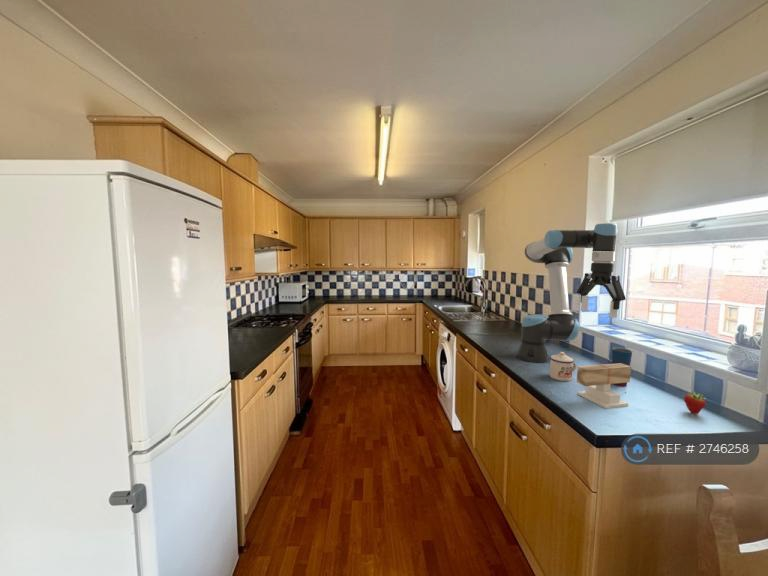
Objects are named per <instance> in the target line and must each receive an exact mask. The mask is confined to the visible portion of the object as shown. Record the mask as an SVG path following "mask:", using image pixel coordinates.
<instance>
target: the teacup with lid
mask: <svg viewBox="0 0 768 576" xmlns="http://www.w3.org/2000/svg"><path fill="white" fill-rule="evenodd" d="M549 365H550V366H549V376H550V378H551V379H554V380H555V381H560V382H570V381H572V379H573V372H575V370H576V369H577V363H576V362H575V361H574V359H573V358H572V357H570V356H568V355H566V353H565V352H563V351H560V352H559V353H558V354H552V355H550V364H549Z"/></svg>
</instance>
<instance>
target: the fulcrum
mask: <svg viewBox="0 0 768 576" xmlns="http://www.w3.org/2000/svg"><path fill="white" fill-rule="evenodd" d="M611 385H612V384H605V385H594V386H585V387H586V388H585V389H586V390H583V391H582V390H581V391H577V395H579V396H581V397H582V398H584V399H586V400H588V401H590V402H592V403H594V404H596V405H598V406H600V407H602V408H603V409H612V408H613V409H614V408H623V407H628V406H629V402H627V401H624V400H622V399H621V395H620V394H619V393H617V392H615V391H613V390H611Z"/></svg>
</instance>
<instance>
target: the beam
mask: <svg viewBox="0 0 768 576" xmlns="http://www.w3.org/2000/svg"><path fill="white" fill-rule="evenodd" d="M576 369H577V371H576V383H578V384H579V385H582V386H584V387H586V386H594V385H605V384H611V385H614V384H615V383H626V382H627V383H630V382H631V373H632V366H631V365H630V366H628V365H625V364H622V363H616V364H612V363H605V364H603V363H602V364H601V363H600V364H592V365H579V366H577V367H576Z"/></svg>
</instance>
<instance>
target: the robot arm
mask: <svg viewBox="0 0 768 576" xmlns="http://www.w3.org/2000/svg"><path fill="white" fill-rule="evenodd" d="M617 236H618V224H616V223H611V222H609V223H608V222H606V223H596V224H595V225H594V229H587V230H586V229H583V230H581V229H579V230H577V229H575V230H569V229H566V230H565V229H563V230H562V229H561V230H559V229H553V230H547V231H546V233H545V235H544V237H543V238H541V239H540V240H538V241H532V242H530V243H528V244H526V247H525V248H524V256H525V257H526V259H527V260H528V261H530V262H533V263H537V264H544V268H545V269H547V270H548V271H547V273H548V283H549V285H548V286H549V300H550V301H549V302H550V312H549V314H548V315H546V314H541V313H540V314H538V313H537V314H527V315H525V316H523V317H522V322H521V335H520V336H521V339H520V344H519V347H518V350H517V352H516V358H518V359H519V360H521V361H525V362H531V363H545V362H548V360H549V355H548V351H547V348H546V341H563V342H567V341H574V340H576V338H577V337H578V335H579V330H580V322H579V320H578V319H577V318H574V314H573V313H572V312H571V311H570V302H569V301H570V299H569V289H568V275H567V268H568V267H569V266H570V263H572V262H573V256H574V251H573V249H574V248H575V249H577V248H578V249H579V248H581V249H582V248H584V249H591V248H592V252H591V261H592V262H591V264H590V272H585V273H584V278H583V279H582V281H581V283H580V285H579V286H578V288H577V291H576V293H577V294H579V295H580V300H579V301H580V311H582V312H588V309H589V308H588V307H589V297H590V296H589V293H590V292H591V291H592V290H593V289H594V288H595V287H596V286H603V288H605V290H606V291H607V293H608V294H609V296H610V298H611V299H612V300H610V305H609V314H608V315H609V316H608V317H609V318H610V319H612V318H617V317H618V310H619V309H620V304H621V303H620V302H621V301H626V295H625V293H624V290H623V287H622V284H621V282H620V280H621V279H620V278H621V277H620V275H612V273H613V272H614V268H615V264H614V262H615V257H616V256H615V255H616V248H617Z"/></svg>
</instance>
